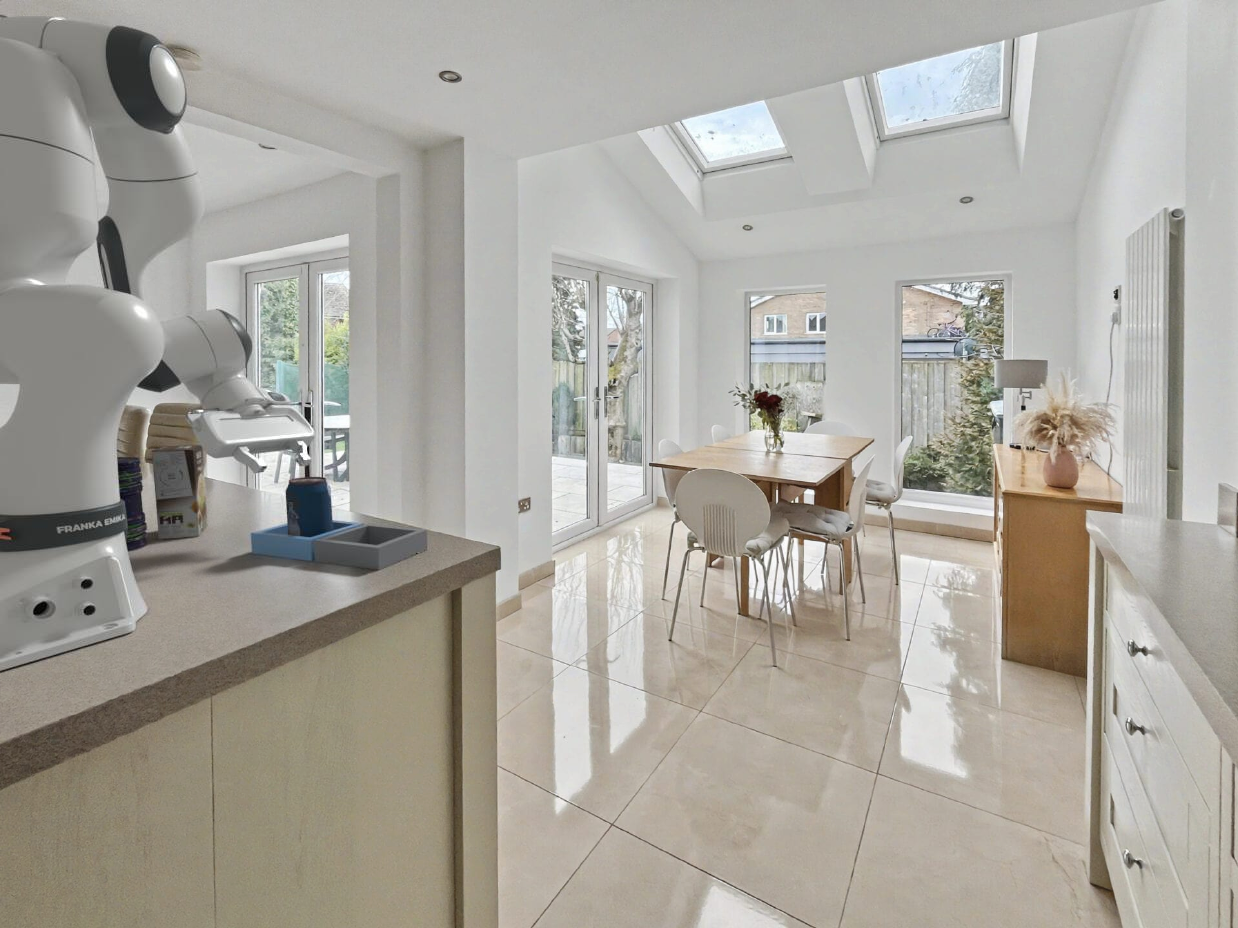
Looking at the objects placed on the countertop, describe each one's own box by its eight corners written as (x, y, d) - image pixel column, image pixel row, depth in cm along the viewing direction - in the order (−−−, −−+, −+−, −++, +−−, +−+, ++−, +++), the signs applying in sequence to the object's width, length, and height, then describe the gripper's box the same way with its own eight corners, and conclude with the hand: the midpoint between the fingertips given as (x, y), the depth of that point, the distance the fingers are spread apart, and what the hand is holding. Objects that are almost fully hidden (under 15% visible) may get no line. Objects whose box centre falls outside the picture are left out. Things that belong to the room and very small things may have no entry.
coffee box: (200, 536, 115) (193, 449, 112) (158, 540, 112) (150, 450, 110) (209, 525, 123) (202, 444, 121) (169, 528, 120) (162, 445, 118)
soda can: (339, 542, 112) (335, 475, 110) (326, 552, 105) (322, 482, 104) (297, 543, 111) (293, 476, 109) (282, 554, 104) (277, 482, 103)
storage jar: (62, 550, 104) (52, 461, 102) (130, 537, 113) (122, 455, 111) (91, 559, 100) (82, 466, 98) (160, 545, 108) (152, 459, 106)
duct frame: (379, 569, 96) (378, 547, 96) (252, 553, 104) (250, 532, 104) (427, 549, 108) (426, 529, 108) (309, 536, 116) (308, 517, 116)
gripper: (189, 396, 99) (240, 461, 97) (293, 395, 118) (338, 449, 116) (170, 424, 101) (220, 488, 99) (276, 418, 120) (319, 471, 118)
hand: (284, 467), depth 108 cm, fingers open, 8 cm apart
